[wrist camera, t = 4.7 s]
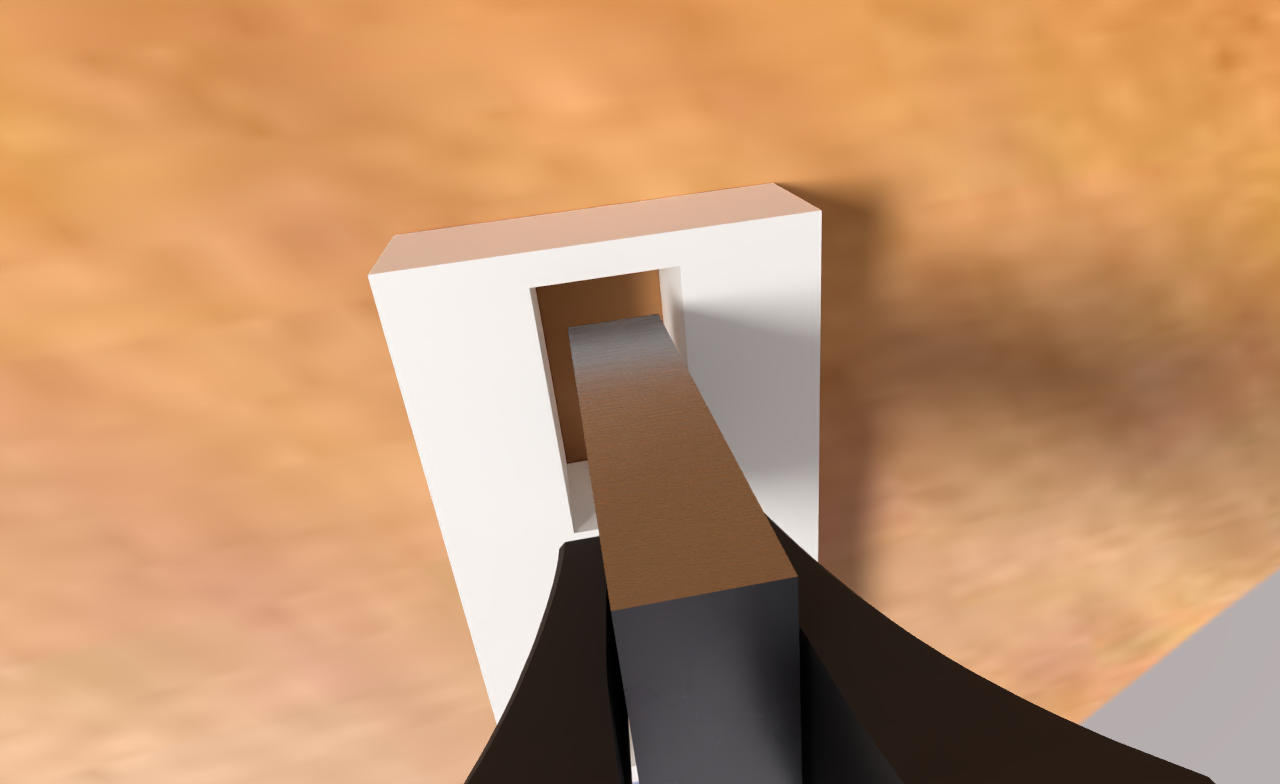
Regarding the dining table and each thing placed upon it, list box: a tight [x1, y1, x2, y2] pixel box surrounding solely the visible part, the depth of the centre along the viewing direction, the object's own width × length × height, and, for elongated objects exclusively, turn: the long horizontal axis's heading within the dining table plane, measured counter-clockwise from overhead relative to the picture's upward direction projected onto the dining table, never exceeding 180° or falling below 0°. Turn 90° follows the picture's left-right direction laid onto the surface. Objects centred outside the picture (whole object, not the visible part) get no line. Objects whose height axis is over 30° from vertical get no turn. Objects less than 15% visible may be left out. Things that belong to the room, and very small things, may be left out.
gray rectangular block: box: [567, 314, 802, 784], centre depth 13 cm, size 5×2×9 cm, turn 6°
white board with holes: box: [368, 183, 822, 782], centre depth 21 cm, size 18×10×4 cm, turn 6°
